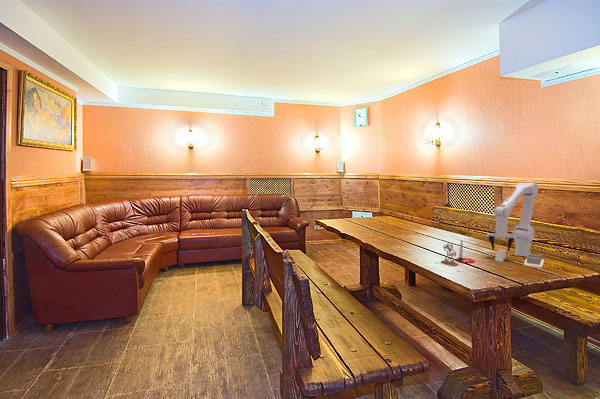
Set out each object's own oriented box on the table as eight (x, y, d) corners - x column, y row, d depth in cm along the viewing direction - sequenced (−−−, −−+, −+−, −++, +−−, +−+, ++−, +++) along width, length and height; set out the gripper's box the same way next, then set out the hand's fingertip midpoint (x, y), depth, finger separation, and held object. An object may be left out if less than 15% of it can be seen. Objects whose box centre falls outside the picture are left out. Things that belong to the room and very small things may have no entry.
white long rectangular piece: (498, 256, 197) (499, 248, 197) (505, 257, 195) (505, 249, 194) (495, 261, 188) (495, 252, 188) (502, 262, 186) (502, 253, 185)
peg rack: (526, 259, 190) (527, 252, 190) (543, 261, 185) (544, 254, 184) (523, 265, 178) (524, 258, 177) (542, 268, 173) (542, 260, 172)
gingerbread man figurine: (458, 265, 181) (459, 244, 180) (453, 266, 179) (454, 245, 178) (445, 261, 189) (445, 241, 188) (440, 262, 187) (440, 242, 186)
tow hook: (467, 259, 194) (454, 260, 192) (468, 238, 193) (455, 238, 191) (478, 263, 186) (464, 264, 183) (479, 241, 185) (466, 241, 182)
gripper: (486, 227, 191) (485, 249, 192) (515, 229, 182) (514, 253, 183) (488, 225, 197) (487, 247, 198) (517, 227, 187) (516, 250, 189)
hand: (500, 250), depth 191 cm, fingers open, 7 cm apart
